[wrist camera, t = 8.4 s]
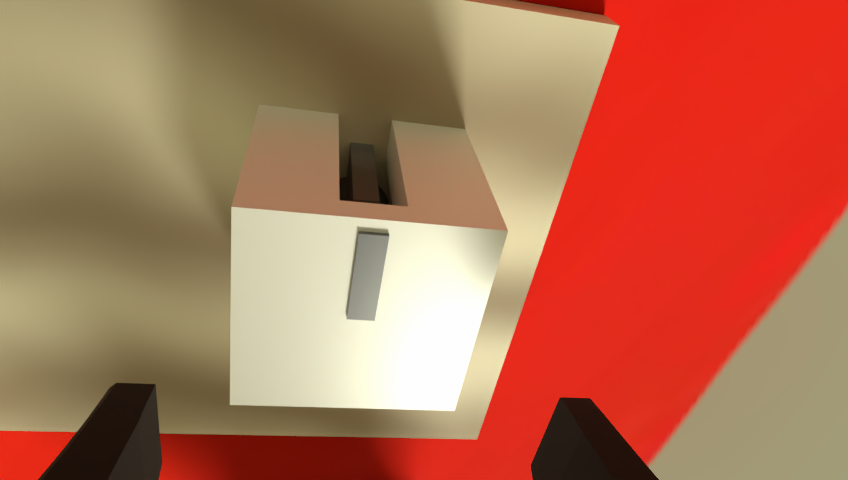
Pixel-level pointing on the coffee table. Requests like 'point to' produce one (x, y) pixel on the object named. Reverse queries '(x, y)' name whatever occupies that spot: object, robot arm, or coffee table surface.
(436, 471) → the coffee table surface
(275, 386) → the slotted white block
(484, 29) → the board
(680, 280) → the coffee table surface
